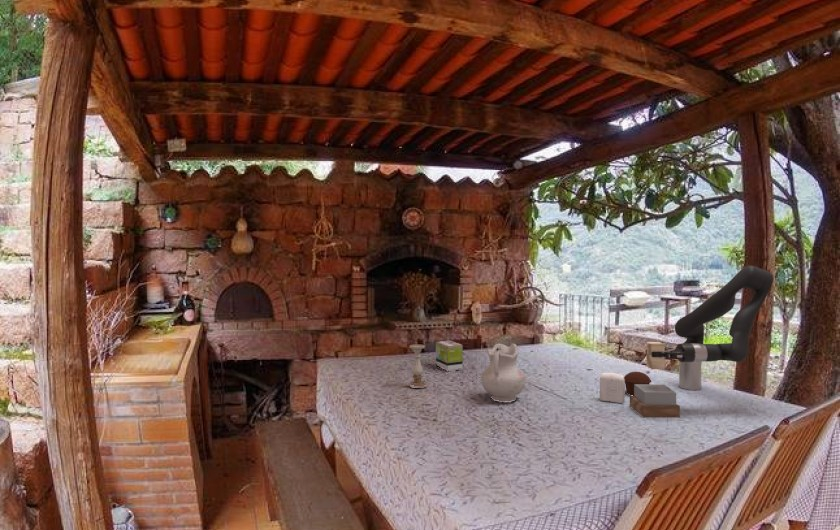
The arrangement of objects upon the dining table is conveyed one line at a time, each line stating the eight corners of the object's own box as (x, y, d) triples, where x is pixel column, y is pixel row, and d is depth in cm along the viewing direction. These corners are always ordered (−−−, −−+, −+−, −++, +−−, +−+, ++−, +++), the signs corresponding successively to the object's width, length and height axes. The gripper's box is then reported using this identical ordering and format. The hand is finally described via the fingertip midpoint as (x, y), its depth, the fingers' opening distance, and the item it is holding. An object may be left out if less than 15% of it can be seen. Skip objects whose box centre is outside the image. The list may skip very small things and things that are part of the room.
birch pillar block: (646, 366, 204) (646, 342, 204) (659, 366, 204) (658, 342, 203) (651, 369, 199) (651, 344, 199) (664, 369, 199) (664, 344, 198)
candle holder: (419, 390, 237) (418, 348, 237) (404, 387, 242) (404, 346, 242) (430, 386, 244) (429, 345, 244) (415, 383, 249) (415, 343, 249)
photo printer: (625, 401, 216) (625, 373, 216) (624, 404, 212) (624, 375, 212) (600, 398, 221) (600, 370, 221) (598, 401, 217) (598, 372, 217)
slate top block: (634, 396, 208) (634, 384, 208) (664, 396, 207) (664, 384, 207) (644, 404, 196) (644, 392, 196) (676, 405, 195) (676, 392, 195)
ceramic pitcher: (523, 410, 208) (528, 351, 207) (477, 404, 212) (481, 346, 211) (523, 396, 229) (527, 343, 228) (481, 391, 233) (485, 338, 232)
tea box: (435, 367, 286) (434, 341, 286) (450, 365, 290) (450, 339, 290) (447, 372, 272) (447, 345, 272) (463, 370, 277) (463, 344, 276)
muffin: (622, 395, 225) (622, 373, 224) (624, 389, 234) (624, 368, 234) (651, 399, 219) (651, 376, 219) (652, 392, 229) (652, 371, 229)
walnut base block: (629, 407, 209) (629, 395, 209) (663, 407, 208) (663, 395, 208) (643, 418, 195) (643, 405, 195) (679, 418, 194) (679, 405, 194)
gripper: (682, 340, 208) (641, 340, 208) (700, 346, 193) (656, 347, 194) (682, 358, 208) (641, 358, 208) (701, 366, 194) (656, 366, 194)
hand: (649, 353), depth 201 cm, fingers closed on birch pillar block, 5 cm apart
